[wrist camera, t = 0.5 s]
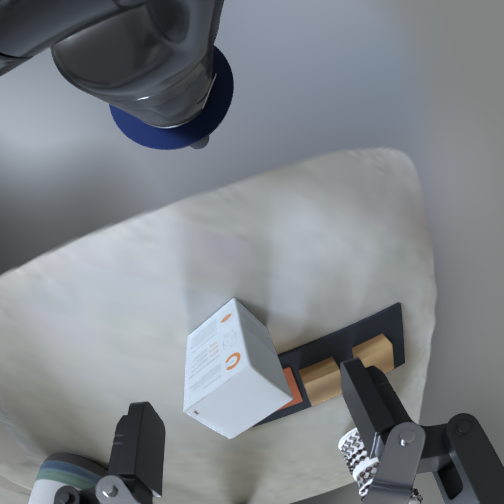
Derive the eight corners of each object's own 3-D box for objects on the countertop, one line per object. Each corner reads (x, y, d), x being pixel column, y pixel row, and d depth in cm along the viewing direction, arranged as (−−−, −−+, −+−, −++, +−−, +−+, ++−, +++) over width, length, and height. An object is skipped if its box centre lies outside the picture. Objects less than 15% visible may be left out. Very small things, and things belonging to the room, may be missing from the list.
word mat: (209, 378, 39) (209, 381, 38) (398, 302, 40) (401, 304, 39) (240, 428, 43) (241, 431, 42) (403, 361, 44) (405, 363, 43)
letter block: (351, 347, 40) (360, 360, 37) (382, 333, 40) (392, 344, 37) (356, 371, 42) (364, 383, 39) (385, 357, 42) (394, 368, 39)
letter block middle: (298, 370, 40) (304, 384, 37) (332, 356, 40) (339, 369, 37) (306, 392, 42) (312, 406, 39) (337, 379, 42) (345, 392, 39)
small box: (221, 364, 39) (230, 441, 26) (186, 336, 37) (180, 412, 24) (269, 327, 38) (295, 399, 26) (234, 294, 36) (249, 364, 24)
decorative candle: (373, 445, 51) (422, 536, 27) (332, 456, 49) (374, 557, 26) (386, 417, 48) (447, 515, 24) (341, 428, 47) (395, 540, 23)
